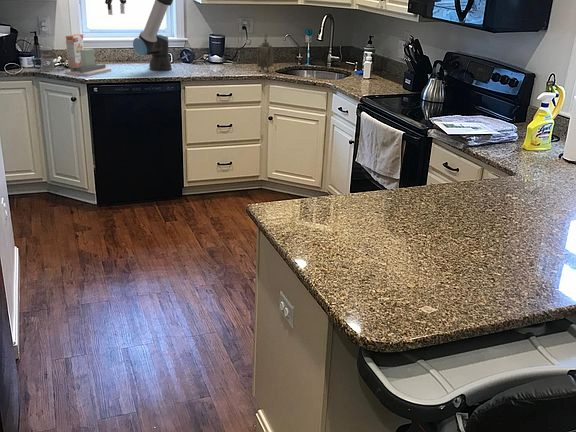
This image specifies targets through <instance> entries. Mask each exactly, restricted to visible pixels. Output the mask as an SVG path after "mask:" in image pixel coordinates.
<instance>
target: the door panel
mask: <svg viewBox="0 0 576 432" xmlns="http://www.w3.org/2000/svg"><path fill="white" fill-rule="evenodd" d="M80 56H81V68H86V67H91V66H95V63H96V59H95V58H96V55H95V48H84V49H82V50H80Z"/></svg>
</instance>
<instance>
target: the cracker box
mask: <svg viewBox="0 0 576 432" xmlns="http://www.w3.org/2000/svg"><path fill="white" fill-rule="evenodd" d="M65 45H66V55H67V56H66V57H67V67H68V68H69V69H70V68H71V67H76V66H81V56H80V50H82V49H85V48H84V47H85V46H84V34H81V33H79V34H78V33H75V34H70V35H65Z"/></svg>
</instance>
